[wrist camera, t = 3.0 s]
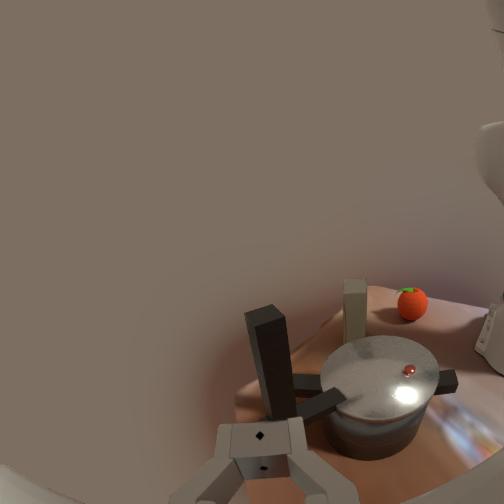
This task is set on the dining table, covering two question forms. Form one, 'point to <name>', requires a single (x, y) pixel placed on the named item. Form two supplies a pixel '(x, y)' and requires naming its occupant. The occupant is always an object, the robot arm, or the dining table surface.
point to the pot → (368, 434)
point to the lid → (343, 375)
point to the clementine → (412, 303)
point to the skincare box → (354, 309)
